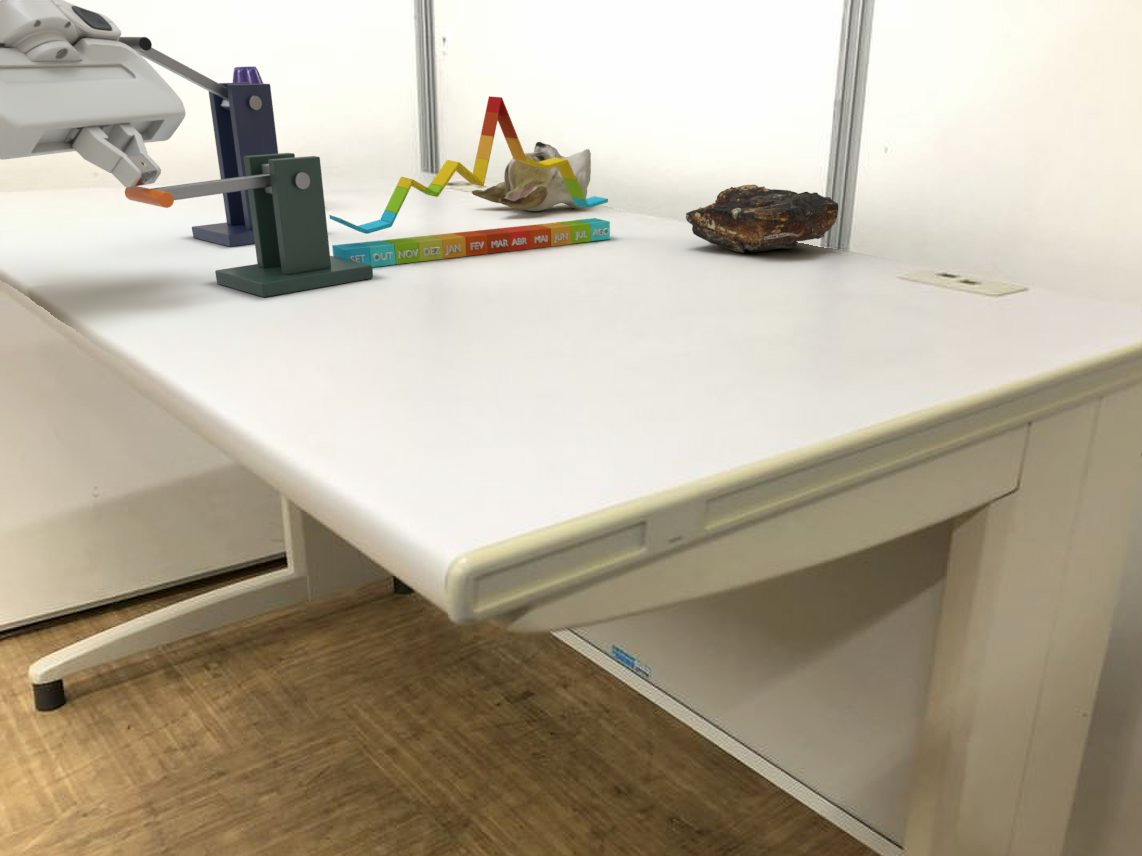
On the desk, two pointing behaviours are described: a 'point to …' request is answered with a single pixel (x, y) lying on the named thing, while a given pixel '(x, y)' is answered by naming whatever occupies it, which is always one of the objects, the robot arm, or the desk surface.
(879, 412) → the desk surface
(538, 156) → the ceramic sculpture
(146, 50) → the back lever
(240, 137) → the back bracket
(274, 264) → the front bracket
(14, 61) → the robot arm
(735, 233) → the fossil rock
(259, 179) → the front lever
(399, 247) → the chart
